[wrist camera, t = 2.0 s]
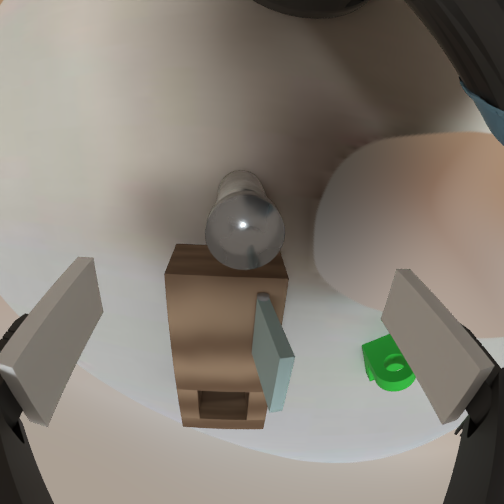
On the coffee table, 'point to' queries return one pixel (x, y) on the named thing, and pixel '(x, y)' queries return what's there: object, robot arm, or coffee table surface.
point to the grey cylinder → (244, 223)
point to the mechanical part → (387, 364)
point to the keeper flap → (271, 354)
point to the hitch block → (218, 336)
